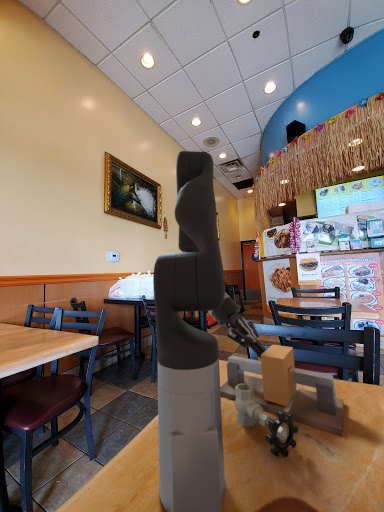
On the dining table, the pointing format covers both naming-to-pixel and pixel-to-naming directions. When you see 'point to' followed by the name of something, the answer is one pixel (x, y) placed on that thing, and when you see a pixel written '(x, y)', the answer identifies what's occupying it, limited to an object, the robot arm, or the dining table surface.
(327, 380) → the rectangular bar
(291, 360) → the collar
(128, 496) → the dining table surface
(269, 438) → the valve
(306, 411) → the board
